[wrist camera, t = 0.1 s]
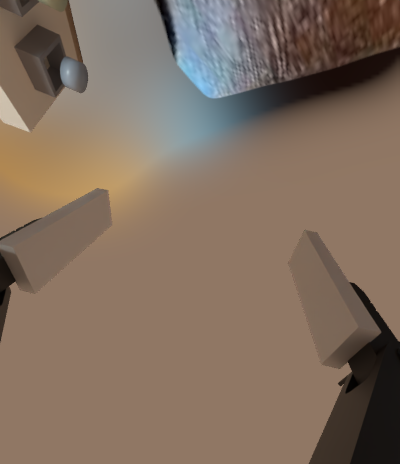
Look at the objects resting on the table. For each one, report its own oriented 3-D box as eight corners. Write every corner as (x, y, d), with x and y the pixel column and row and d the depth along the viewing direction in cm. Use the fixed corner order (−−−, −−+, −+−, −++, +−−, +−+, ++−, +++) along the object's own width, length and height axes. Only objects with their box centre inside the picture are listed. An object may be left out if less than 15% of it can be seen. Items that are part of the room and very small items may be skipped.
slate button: (77, 77, 33) (66, 93, 31) (69, 50, 29) (56, 66, 28) (89, 83, 33) (79, 98, 32) (84, 56, 30) (71, 72, 28)
